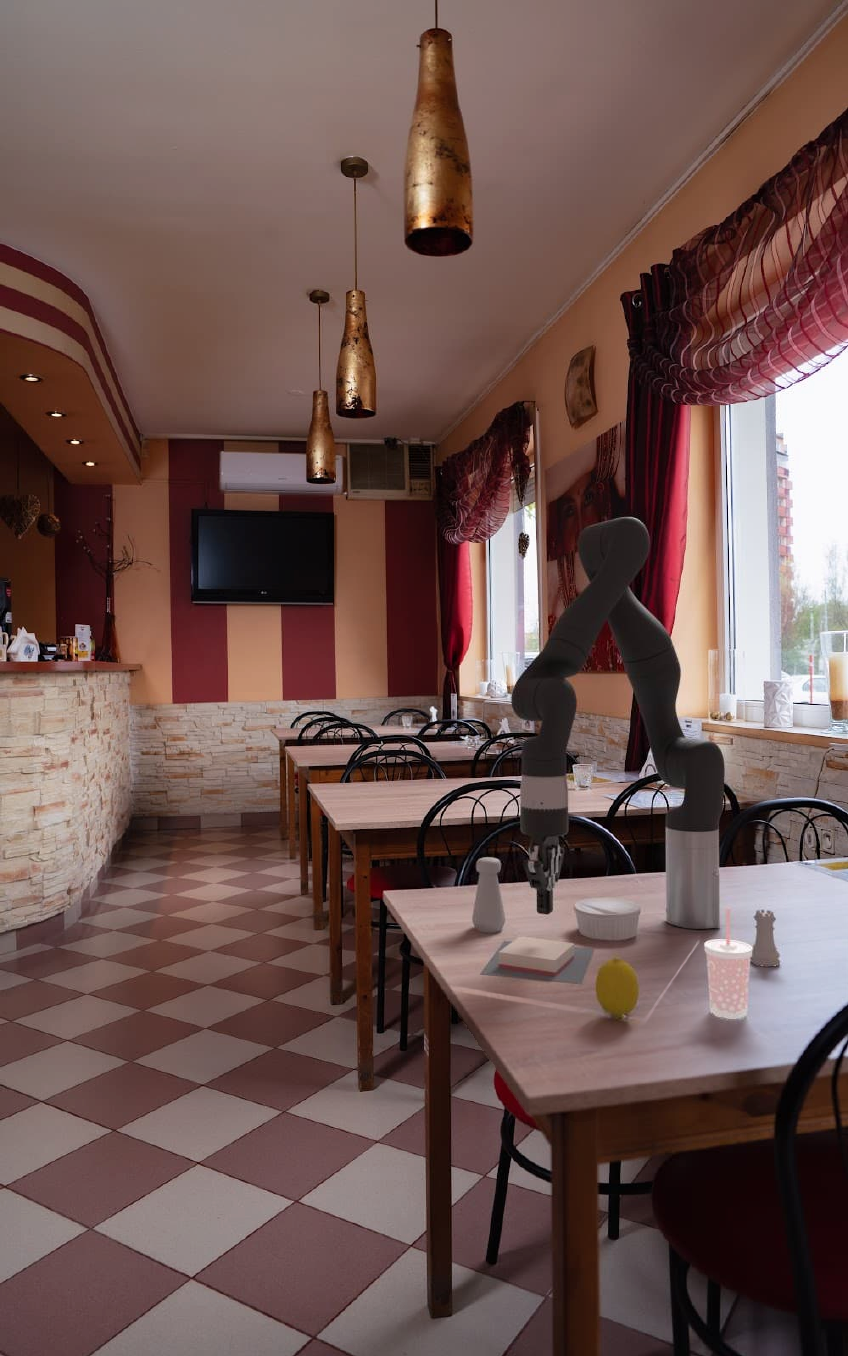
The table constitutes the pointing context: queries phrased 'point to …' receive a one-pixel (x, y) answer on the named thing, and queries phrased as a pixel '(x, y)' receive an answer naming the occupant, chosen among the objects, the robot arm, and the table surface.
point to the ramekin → (607, 918)
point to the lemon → (617, 987)
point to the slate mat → (568, 975)
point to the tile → (536, 956)
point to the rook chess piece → (765, 940)
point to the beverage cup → (728, 975)
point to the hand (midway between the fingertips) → (544, 912)
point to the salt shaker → (488, 897)
